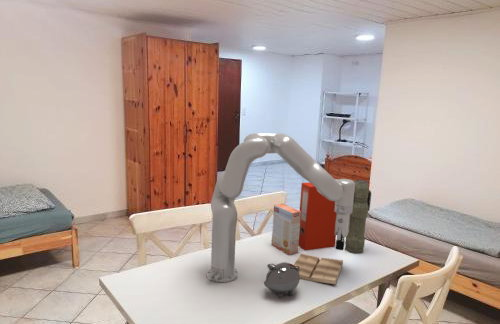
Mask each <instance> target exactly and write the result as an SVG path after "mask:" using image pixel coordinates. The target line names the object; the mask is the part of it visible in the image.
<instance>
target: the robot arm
mask: <svg viewBox="0 0 500 324" xmlns="http://www.w3.org/2000/svg"><path fill="white" fill-rule="evenodd" d="M267 154H277V155H278V156H279V157H281V159H282V160H283V161H284V162H285V163H287V164H288V165H289V167H290V168H291V169H293V171H295V172H296V173H297V174H298V175H299V176H300V177H301V178H303V179H304V180H306V181H307V182H308V183H309V182H310V183H311V184H312V185H314V186H315V187H316V189H317V191H318V192H319V193H320V194H321V195H322V196H324V197H325V198H327V199H328V200H330V201H335V206H334V212H336V222H335V235H336V241H335V249H336V250H339V251H344V249H345V239H346V237H347V235H348V233H349V225H350V214H352V211H353V201H354V190H355V183H354V181H355V180H352V179H347V178H340V179H338V178H337V179H336V178H334V177H333V176H332V175H331V174H330V173H329V172H328V171H327V170H325V169H324V168H323V167H322V166H321V165H320V164H319V162H317V161H316V160H315V159H314V158H313V157H312V156H311V154H309V153H308V152H307V151H306V150H305V149H304V148H303V147H302V146H301V145H300V144H299V143H298V142H297V141H296V140H295V139H294V138H293V137H292V136H290V135H288V134H285V133H259V132H258V133H257V132H256V133H253V132H252V133H249V134H247V135H246V136H245V137H244V140H243V142H241V143H239V144H238V145H237V146H236V147H235V148H234V149H233V150H232V152H230V156H229V157H228V161H227V164H226V165H225V166H226V167H225V170H224V171H222V172H221V173H220V174H219V175H218V178H217V180H216V183H215V186H214V188H213V189H214V190H213V194H212V197H211V202H210V210H211V213H212V214H211V215H212V223H211V225H212V227H211V253H210V256H211V259H210V260H211V261H210V268H209V269H208V270H207V271H206V280H208V281H213V282H217V283H228V282H232V281H234V280H235V279H237V278H238V276H239V271H238V270H237V269H236V268H235V263H236V237H237V236H236V235H237V234H236V233H237V223H238V211H237V207H236V205H235V200H236V198H238V197H240V196H241V194H242V192H243V190H244V187H245V182H246V178H247V174H248V172H249V168H250V166H251V165H252V163H253V162H254V161H255V160H257V159H260V158H262V157H265V156H266V155H267Z"/></svg>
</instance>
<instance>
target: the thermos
mask: <svg viewBox="0 0 500 324" xmlns="http://www.w3.org/2000/svg"><path fill="white" fill-rule="evenodd" d="M353 181H354V183H355V190H354V201H353V211H352V214H350V225H349V233H348V235H347V237H345V240H344V249H345V251H346V252H348V253H350V254H354V255H355V254H356V255H357V254H358V255H360V254H363V253H364V248H365V242H366V237H365V230H366V222H367V218H368V212H369V211H370V208H371V201H372V200H371V199H372V191H371V190H370V187H369V182H368V181H366V180H364V179H357V180H353Z"/></svg>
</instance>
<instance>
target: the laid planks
mask: <svg viewBox="0 0 500 324" xmlns="http://www.w3.org/2000/svg"><path fill="white" fill-rule="evenodd" d="M320 260H321V259H320V257H318V256H315V255H310V254H309V255H308V254H304V253H300V255H299V256H298V258H297V259H296V261H295V262H294V264H293V265H294V266H299V268H300V271H299V274H300V280H305V281H308V282H309V281H310V282H312V280H311V277H312V275H313V273H314V271H315V269H316V268H317V266H318V264H319V262H320Z"/></svg>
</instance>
